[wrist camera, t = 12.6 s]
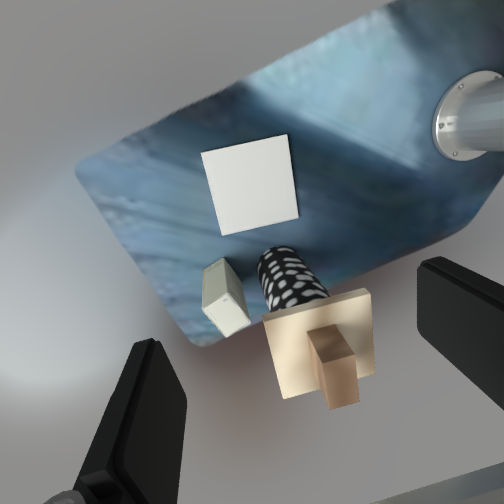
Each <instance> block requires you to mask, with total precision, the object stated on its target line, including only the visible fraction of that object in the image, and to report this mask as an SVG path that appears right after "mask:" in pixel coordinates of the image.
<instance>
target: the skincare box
mask: <svg viewBox="0 0 504 504" xmlns="http://www.w3.org/2000/svg"><path fill="white" fill-rule="evenodd" d="M202 310H203V312H204V313H205V314H206V315H207V317H208V318H209V319H210V320H211V321H212V323H213V324H214V325H215V326H216V327H217V328H218V329H219V331H220V332H221V333H222V334H223V335H224V336H225V337H228V336H230V335H232V334H233V333H235V332H237V331H239V330H240V329H242V328H244V327H246V326H247V325H249V324H250V323H251V321H250V317H249V313H248V309H247V305H246V300H245V296H244V292H243V288H242V284H241V281H240V280H239V278H238V277H237V275H236V274H235V272H234V271H233V269H232V268H231V267H230V265H229V264H228V263H227V261H226V260H225V259H224V258H221V259H220V260H218V261H216V262H215V263H213V264H212V265H210V266H208V267H207V268H205V269H204V270H203V296H202Z"/></svg>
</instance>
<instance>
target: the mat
mask: <svg viewBox="0 0 504 504" xmlns="http://www.w3.org/2000/svg"><path fill="white" fill-rule="evenodd" d="M201 155H202V159H203V163H204V167H205V171H206V175H207V178H208V182H209V186H210V190H211V194H212V198H213V202H214V206H215V209H216V213H217V217H218V221H219V225H220V229H221V233H222V236H223V235H227V234H231V233H236V232H240V231H244V230H249V229H253V228H257V227H261V226H266V225H270V224H274V223H279V222H283V221H287V220H292V219H296V218H298V210H297V203H296V196H295V188H294V181H293V174H292V167H291V159H290V152H289V145H288V137H287V134H286V135H281V136H276V137H272V138H267V139H263V140H258V141H254V142H249V143H244V144H240V145H235V146H231V147H226V148H222V149H217V150H212V151H208V152H203V153H201Z"/></svg>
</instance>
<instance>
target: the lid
mask: <svg viewBox="0 0 504 504" xmlns="http://www.w3.org/2000/svg"><path fill="white" fill-rule="evenodd" d="M262 318H263V322H264V326H265V330H266V333H267V337H268V342H269V345H270V349H271V353H272V357H273V361H274V365H275V369H276V373H277V377H278V381H279V385H280V389H281V392H282V396H283V399H285V398H289V397H293V396H296V395H300V394H303V393H307V392H310V391H314V390H318V389H321V391H322V393H323V395H324V398H325V400H326V403H327V405H328V407H329V409H330V410H331V409H335V408H339V407H342V406H345V405H349V404H353V403H356V402H359V401H360V400H359V389H358V379H357V378H361V377H364V376H368V375H372V374H375V362H374V346H373V345H374V344H373V327H372V312H371V294H370V293H369V292H368V291H367V290H366V289H365V288H361V289H357V290H354V291H350V292H346V293H342V294H339V295H335V296H331V297H327V298H324V299H320V300H316V301H312V302H309V303H305V304H301V305H297V306H294V307H290V308H286V309H282V310H279V311H275V312H271V313H267V314H264V315H262Z"/></svg>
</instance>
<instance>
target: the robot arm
mask: <svg viewBox="0 0 504 504" xmlns="http://www.w3.org/2000/svg"><path fill="white" fill-rule="evenodd" d="M432 134H433V140H434V144H435V146H436V148H437V149H438V151H439V152H440V153H441V154H442V155H443V156H445V157H446V158H448V159H451V160H458V161H467V160H471V159H474V158H477V157H479V156H481V155H482V154H484V153H486V152H487V151H504V77H502V76H501V75H500V74H498V73H496V72H493V71H478V72H475V73H471V74H469V75H467V76H464V77H462V78H461V79H459V80H458V81H456V82H455V83H454V84H453V85H452V86H451V87H450V88H449V89H448V90H447V92H446V93H445V94H444V95H443V97H442V99H441V100H440V102H439V104H438V106H437V109H436V111H435V115H434V118H433V125H432ZM417 328H418V331H419V333H420V334H421V336H422V337H423V338H424V339H426V340H427V341H428V342H429V343H430V344H431V345H432V346H433V347H434V348H435V349H437V350H438V351H439V352H440V353H441V354H442V355H443V356H444V357H445V358H447V359H448V360H449V361H450V362H451V363H452V364H453V365H454V366H455V367H456V368H458V369H459V370H460V371H461V372H462V373H463V374H464V375H465V376H466V377H468V378H469V379H470V380H471V381H472V382H473V383H474V384H475V385H476V386H478V387H479V388H480V389H481V390H482V391H483V392H484V393H485V394H486V395H488V397H490V398H491V399H492V400H493V401H494V402H495V403H496V404H497V405H498V406H500V407H501V408H502V409H503V410H504V286H503V285H501V284H499V283H496V282H494V281H492V280H490V279H488V278H486V277H484V276H482V275H480V274H477V273H476V272H473V271H471V270H469V269H467V268H465V267H463V266H461V265H459V264H457V263H454V262H452V261H450V260H448V259H446V258H444V257H441V256H439V257H435V258H431V259H428V260H425V261H422V262H421V264H420V266H419V267H418V269H417ZM186 412H187V398H186V394H185V392H184V390H183V388H182V386H181V384H180V382H179V380H178V377H177V376H176V373H175V371H174V369H173V367H172V365H171V363H170V361H169V359H168V357H167V355H166V352H165V350H164V348H163V346H162V344H161V342H160V341H155V340H154V339H153V338H150V339H147V340H143V341H139V342H136V343H134V345H133V347H132V349H131V352H130V354H129V357H128V359H127V361H126V364H125V366H124V369H123V371H122V374H121V376H120V378H119V381H118V383H117V386H116V388H115V391H114V392H113V394H112V396H111V398H110V400H109V403H108V405H107V407H106V410H105V412H104V415H103V417H102V419H101V422H100V424H99V427H98V429H97V432H96V434H95V436H94V439H93V441H92V444H91V446H90V448H89V451H88V453H87V456H86V458H85V461H84V463H83V465H82V468H81V470H80V472H79V475H78V477H77V480H76V482H75V484H74V487H73V489H72V490H68V491H63V492H61V493H59V494H57V495H55V496H53V497H51V498H50V499H49V500H47V501H46V502H45V503H43V504H177V498H178V497H177V496H178V487H179V479H180V468H181V459H182V450H183V440H184V430H185V421H186ZM371 504H504V462H503V463H499V464H496V465H493V466H490V467H486V468H483V469H480V470H476V471H473V472H470V473H467V474H464V475H460V476H457V477H454V478H451V479H448V480H445V481H442V482H438V483H435V484H432V485H428V486H425V487H422V488H419V489H416V490H412V491H409V492H406V493H403V494H400V495H397V496H394V497H390V498H387V499H384V500H381V501H377V502H374V503H371Z"/></svg>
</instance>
